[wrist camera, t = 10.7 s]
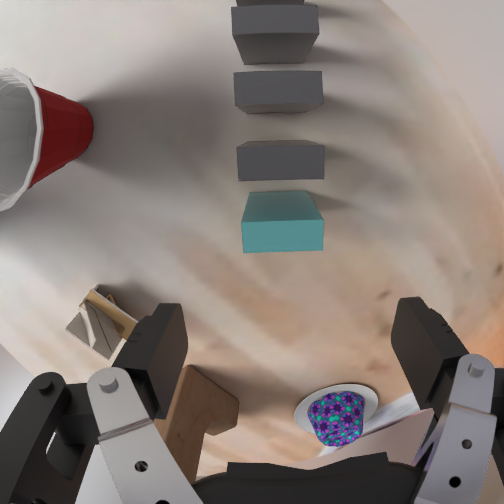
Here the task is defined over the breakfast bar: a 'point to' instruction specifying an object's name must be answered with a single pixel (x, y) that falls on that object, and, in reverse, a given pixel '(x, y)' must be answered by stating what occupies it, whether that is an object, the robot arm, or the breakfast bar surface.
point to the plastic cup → (36, 134)
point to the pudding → (337, 413)
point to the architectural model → (101, 324)
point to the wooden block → (195, 418)
